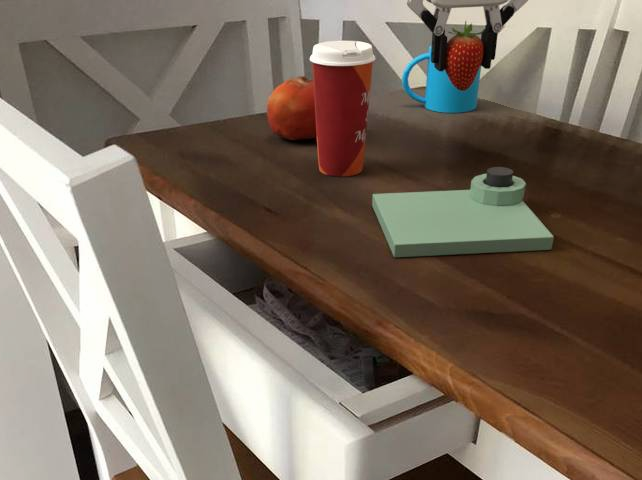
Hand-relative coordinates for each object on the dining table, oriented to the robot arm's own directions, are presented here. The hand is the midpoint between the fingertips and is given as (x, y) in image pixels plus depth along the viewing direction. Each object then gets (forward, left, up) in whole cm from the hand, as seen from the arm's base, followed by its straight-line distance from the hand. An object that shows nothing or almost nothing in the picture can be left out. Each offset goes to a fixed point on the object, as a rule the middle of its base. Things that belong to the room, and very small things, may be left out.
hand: (461, 66), depth 94 cm
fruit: (0, 0, -3) cm, 3 cm away
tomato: (+20, -6, -10) cm, 24 cm away
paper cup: (+16, +8, -10) cm, 21 cm away
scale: (+6, +28, -10) cm, 30 cm away
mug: (-3, -20, -10) cm, 23 cm away
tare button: (+1, +23, -7) cm, 24 cm away
